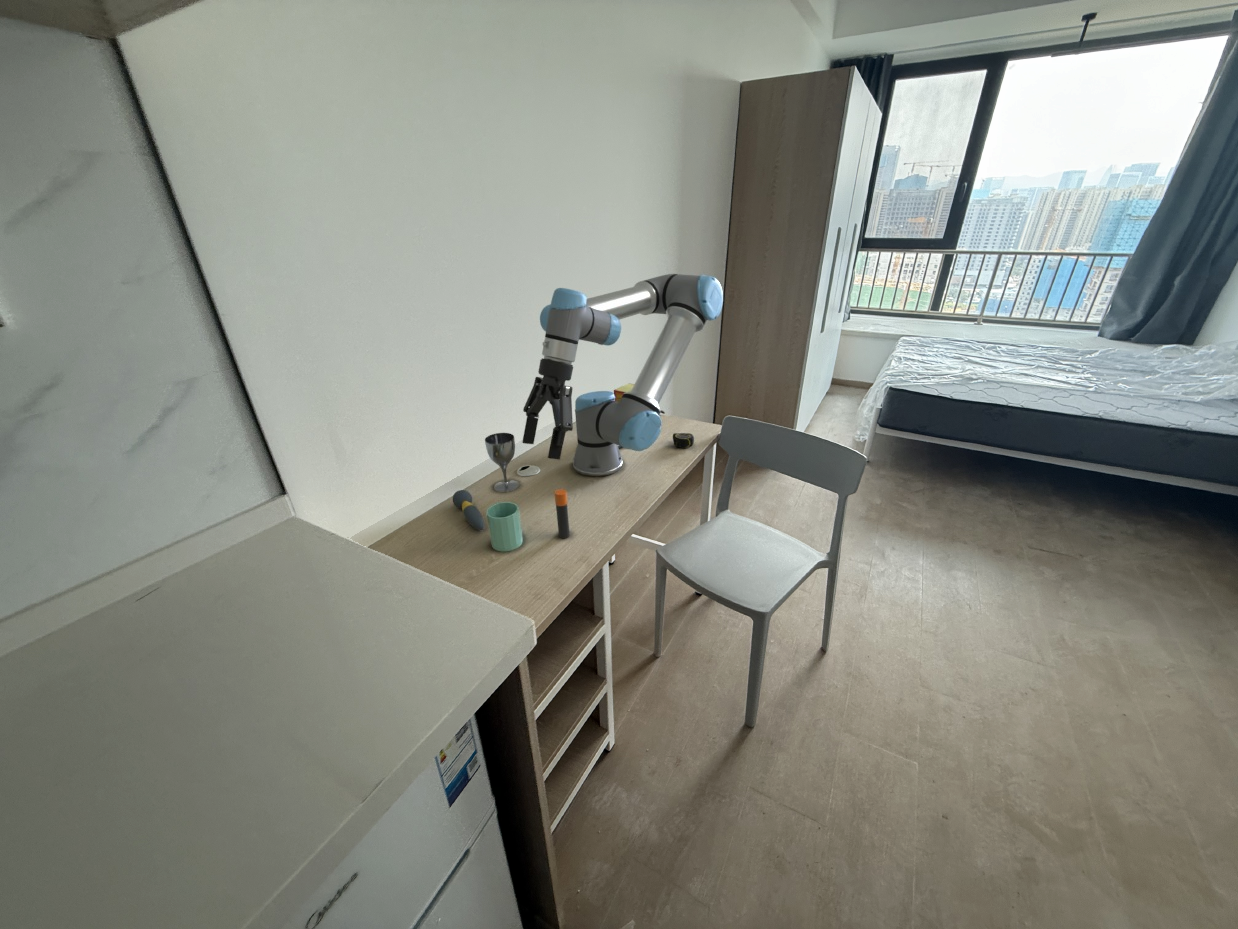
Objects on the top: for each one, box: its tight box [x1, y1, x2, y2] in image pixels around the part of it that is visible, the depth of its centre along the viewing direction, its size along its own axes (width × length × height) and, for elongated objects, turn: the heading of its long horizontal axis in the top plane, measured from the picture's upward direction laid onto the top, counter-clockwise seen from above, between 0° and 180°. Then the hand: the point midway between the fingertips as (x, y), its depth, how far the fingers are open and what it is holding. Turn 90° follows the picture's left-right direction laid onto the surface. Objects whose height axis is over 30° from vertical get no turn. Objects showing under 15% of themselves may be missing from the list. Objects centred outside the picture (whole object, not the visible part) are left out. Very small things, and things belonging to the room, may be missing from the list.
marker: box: [554, 488, 571, 539], centre depth 114 cm, size 3×3×12 cm
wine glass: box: [484, 432, 520, 493], centre depth 136 cm, size 8×8×15 cm
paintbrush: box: [452, 489, 485, 531], centre depth 124 cm, size 20×5×5 cm, turn 38°
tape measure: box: [672, 432, 695, 449], centre depth 161 cm, size 7×7×4 cm
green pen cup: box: [485, 501, 524, 552], centre depth 112 cm, size 7×7×9 cm
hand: (540, 450), depth 114 cm, fingers open, 13 cm apart
